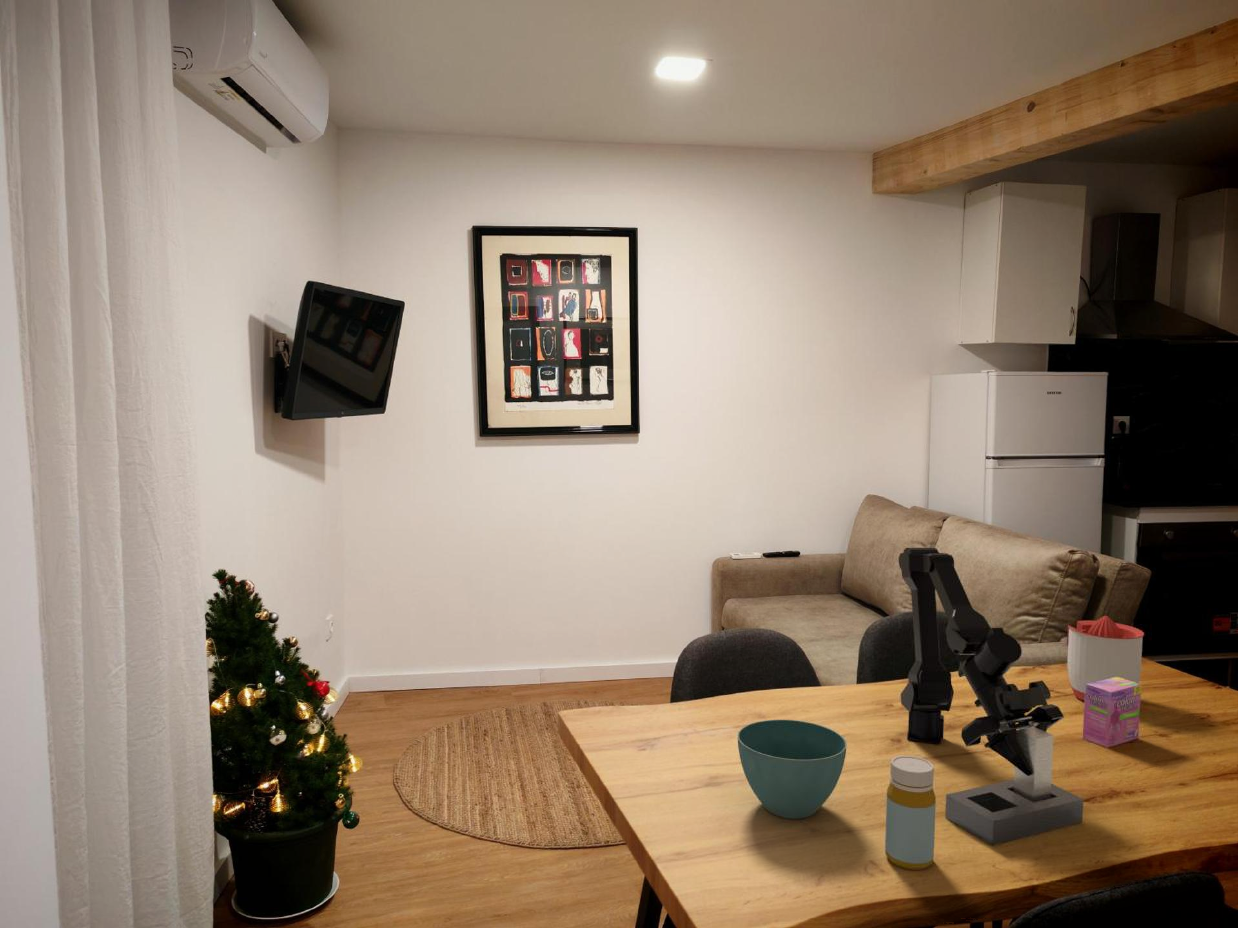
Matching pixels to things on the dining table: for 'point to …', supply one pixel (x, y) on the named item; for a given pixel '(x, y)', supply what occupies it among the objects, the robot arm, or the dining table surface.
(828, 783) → the teal bowl
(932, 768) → the bottle
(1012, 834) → the grey flat block
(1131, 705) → the box
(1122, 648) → the citrus juicer
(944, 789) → the dining table surface
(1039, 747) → the peg
